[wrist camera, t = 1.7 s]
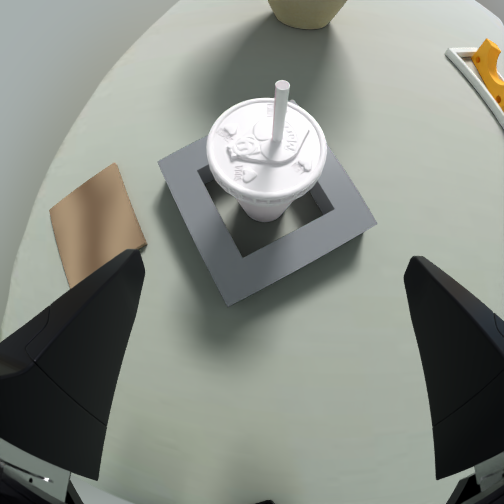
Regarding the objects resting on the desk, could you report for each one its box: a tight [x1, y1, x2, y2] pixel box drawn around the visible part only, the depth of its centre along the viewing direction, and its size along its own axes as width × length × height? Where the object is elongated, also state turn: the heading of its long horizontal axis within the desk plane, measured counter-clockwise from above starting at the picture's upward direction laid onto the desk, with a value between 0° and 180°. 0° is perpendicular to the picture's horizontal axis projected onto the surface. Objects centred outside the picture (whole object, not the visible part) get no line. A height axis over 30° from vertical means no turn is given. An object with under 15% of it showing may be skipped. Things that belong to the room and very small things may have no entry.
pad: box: [49, 163, 147, 288], centre depth 23 cm, size 9×9×1 cm
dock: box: [158, 99, 377, 307], centre depth 22 cm, size 13×13×3 cm
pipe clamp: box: [471, 38, 504, 112], centre depth 22 cm, size 12×4×6 cm, turn 178°
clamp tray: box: [445, 48, 504, 129], centre depth 24 cm, size 12×18×2 cm, turn 28°
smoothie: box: [206, 80, 327, 222], centre depth 16 cm, size 6×6×14 cm
